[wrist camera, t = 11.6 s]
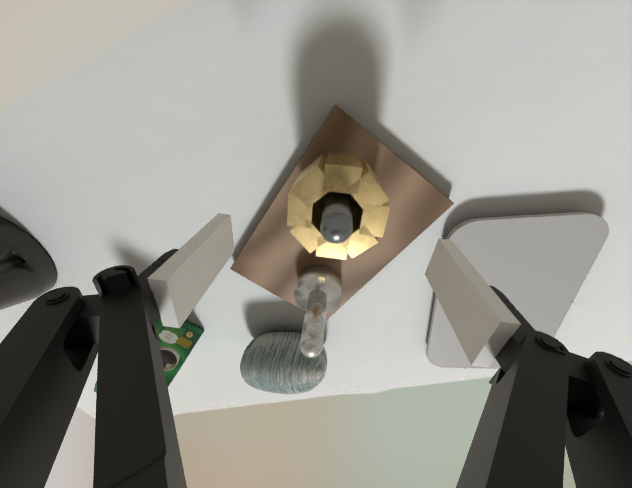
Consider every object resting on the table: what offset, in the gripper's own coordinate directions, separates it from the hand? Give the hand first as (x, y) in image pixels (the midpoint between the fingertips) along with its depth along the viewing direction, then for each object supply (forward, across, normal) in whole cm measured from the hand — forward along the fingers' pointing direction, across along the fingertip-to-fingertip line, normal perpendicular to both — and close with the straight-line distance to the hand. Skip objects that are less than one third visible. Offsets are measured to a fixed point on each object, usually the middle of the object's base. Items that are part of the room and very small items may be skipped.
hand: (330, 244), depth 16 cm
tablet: (+14, +24, -14) cm, 31 cm away
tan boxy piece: (+10, 0, 0) cm, 10 cm away
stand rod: (+13, 0, -13) cm, 18 cm away
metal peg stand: (+12, 0, 0) cm, 13 cm away
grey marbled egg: (+14, -4, -28) cm, 32 cm away
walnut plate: (+14, 0, -7) cm, 16 cm away
